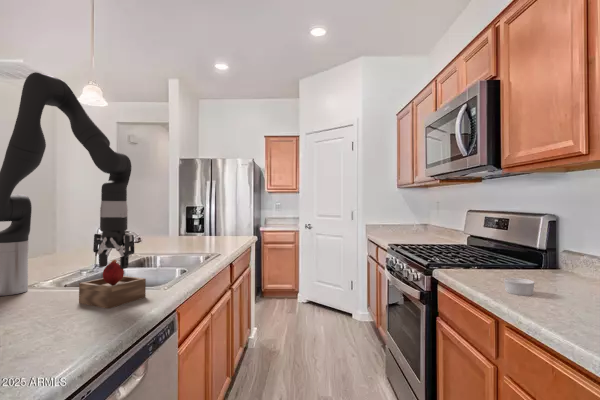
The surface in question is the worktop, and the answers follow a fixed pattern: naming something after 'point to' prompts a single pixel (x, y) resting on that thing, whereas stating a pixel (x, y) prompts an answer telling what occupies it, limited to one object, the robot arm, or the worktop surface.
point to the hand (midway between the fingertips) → (113, 267)
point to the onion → (113, 273)
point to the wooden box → (112, 292)
